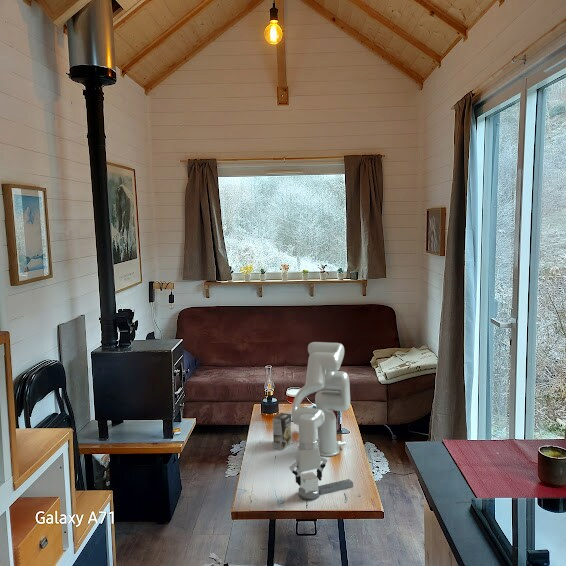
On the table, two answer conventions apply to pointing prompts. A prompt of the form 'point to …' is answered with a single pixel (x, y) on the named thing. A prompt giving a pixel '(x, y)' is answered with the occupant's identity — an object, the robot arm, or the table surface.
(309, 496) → the ratchet
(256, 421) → the table surface
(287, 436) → the coffee box
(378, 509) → the table surface
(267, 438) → the table surface
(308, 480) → the brushed grey cube
